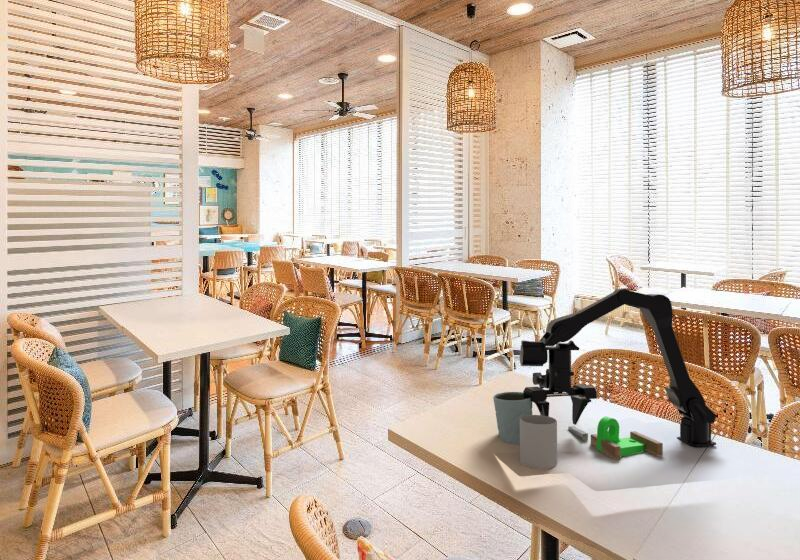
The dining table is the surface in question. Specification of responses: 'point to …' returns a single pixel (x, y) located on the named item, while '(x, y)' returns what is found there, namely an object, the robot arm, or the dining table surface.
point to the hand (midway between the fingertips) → (560, 425)
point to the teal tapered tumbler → (511, 414)
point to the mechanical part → (617, 437)
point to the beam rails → (615, 450)
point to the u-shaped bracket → (579, 433)
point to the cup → (538, 441)
